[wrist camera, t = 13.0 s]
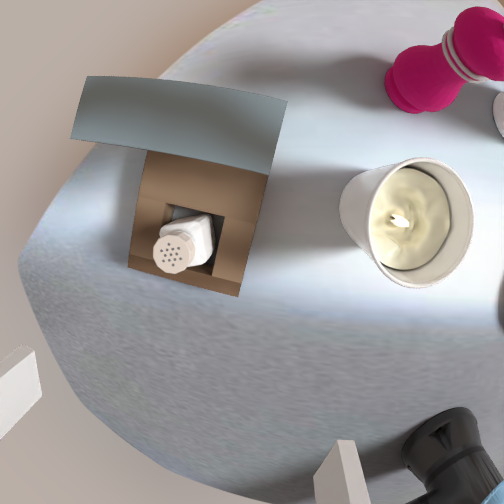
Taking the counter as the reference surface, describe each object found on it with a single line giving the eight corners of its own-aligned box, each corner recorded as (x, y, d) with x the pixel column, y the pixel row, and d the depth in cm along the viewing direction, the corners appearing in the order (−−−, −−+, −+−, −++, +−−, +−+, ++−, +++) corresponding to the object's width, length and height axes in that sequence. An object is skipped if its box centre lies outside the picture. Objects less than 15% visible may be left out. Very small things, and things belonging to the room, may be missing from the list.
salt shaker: (218, 249, 33) (199, 276, 24) (183, 253, 33) (153, 281, 24) (212, 212, 32) (190, 225, 23) (176, 218, 32) (143, 233, 23)
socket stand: (240, 285, 34) (219, 373, 18) (140, 258, 34) (55, 317, 18) (277, 141, 30) (287, 101, 14) (167, 119, 30) (87, 76, 14)
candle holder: (319, 237, 32) (347, 269, 21) (346, 150, 30) (389, 135, 18) (396, 262, 32) (449, 301, 21) (422, 182, 30) (487, 187, 18)
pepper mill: (384, 115, 29) (502, 60, 9) (375, 57, 27) (466, -34, 8) (437, 120, 28) (563, 90, 9) (428, 65, 27) (534, 3, 7)
